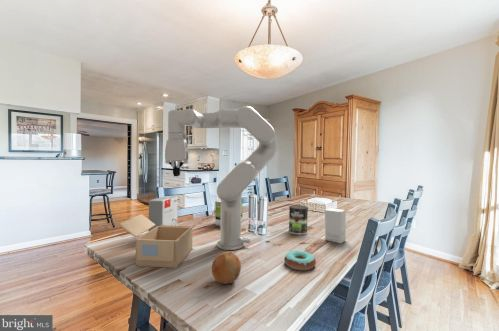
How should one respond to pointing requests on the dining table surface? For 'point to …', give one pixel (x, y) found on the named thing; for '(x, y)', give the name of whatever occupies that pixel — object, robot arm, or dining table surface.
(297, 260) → the donut
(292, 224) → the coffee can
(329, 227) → the skincare box
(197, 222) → the flap
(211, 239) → the dining table surface
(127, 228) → the flap
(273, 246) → the dining table surface
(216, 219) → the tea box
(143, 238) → the carton
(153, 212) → the hard drive box
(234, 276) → the onion
